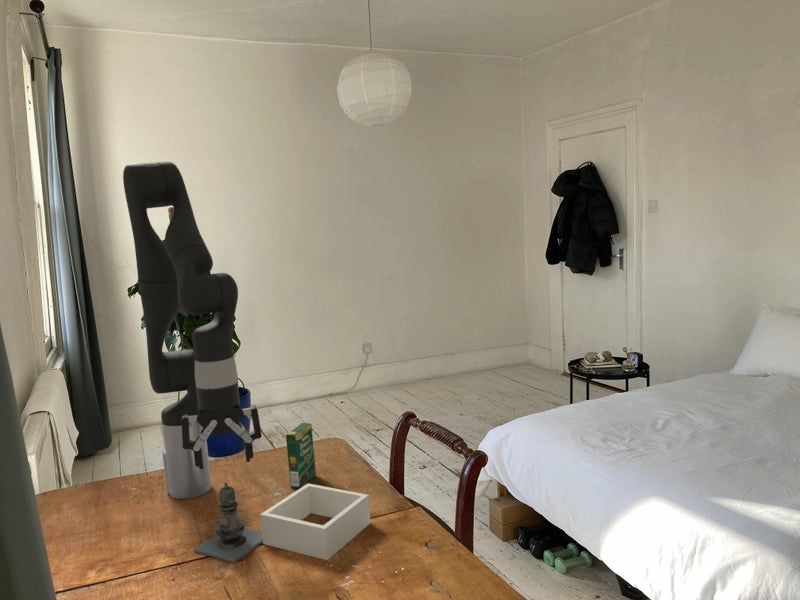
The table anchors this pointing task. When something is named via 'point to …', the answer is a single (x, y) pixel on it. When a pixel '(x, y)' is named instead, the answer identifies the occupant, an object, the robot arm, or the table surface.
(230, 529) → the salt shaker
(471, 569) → the table surface
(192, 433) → the robot arm
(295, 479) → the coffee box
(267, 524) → the frame
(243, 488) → the table surface
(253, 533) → the mat
